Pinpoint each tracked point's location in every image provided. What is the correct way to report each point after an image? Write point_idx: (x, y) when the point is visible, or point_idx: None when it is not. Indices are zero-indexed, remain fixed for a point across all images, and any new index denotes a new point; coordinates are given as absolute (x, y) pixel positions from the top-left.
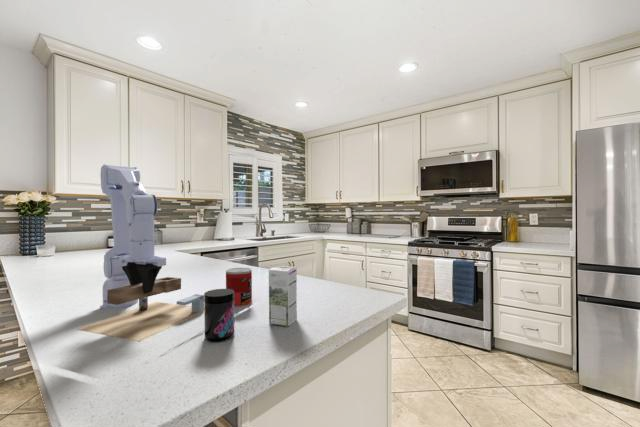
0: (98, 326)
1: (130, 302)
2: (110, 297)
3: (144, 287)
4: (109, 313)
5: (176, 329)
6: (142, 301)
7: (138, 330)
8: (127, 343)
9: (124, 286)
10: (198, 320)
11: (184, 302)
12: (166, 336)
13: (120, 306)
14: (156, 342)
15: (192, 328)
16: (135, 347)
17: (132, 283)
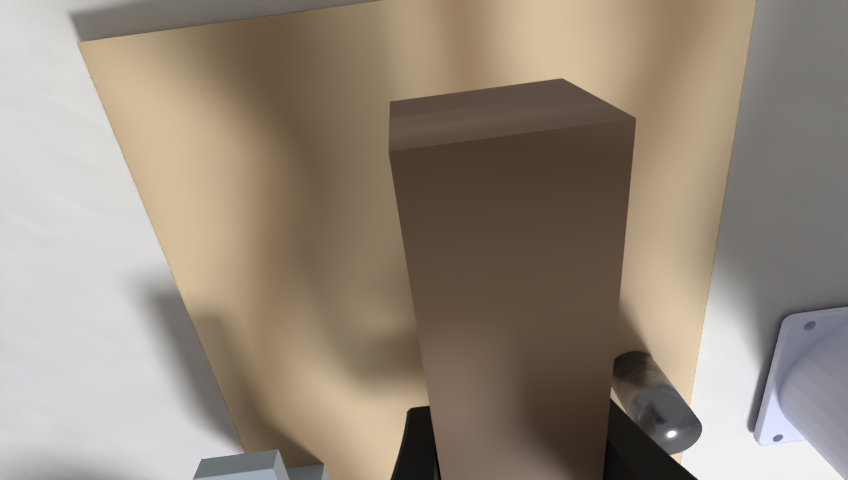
0: (637, 64)
1: (803, 392)
2: (527, 103)
3: (404, 454)
4: (831, 262)
5: (170, 295)
6: (646, 404)
7: (293, 156)
8: (189, 17)
9: (613, 356)
10: (205, 418)
11: (197, 477)
12: (102, 207)
13: (832, 339)
14: (48, 122)
15: (108, 341)
16: (67, 3)
17: (618, 455)
